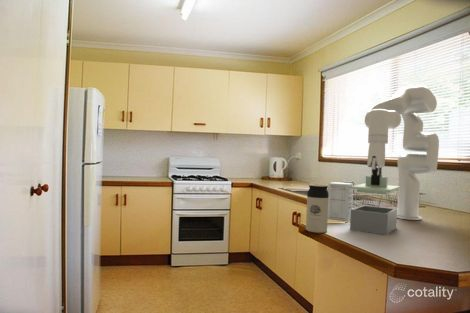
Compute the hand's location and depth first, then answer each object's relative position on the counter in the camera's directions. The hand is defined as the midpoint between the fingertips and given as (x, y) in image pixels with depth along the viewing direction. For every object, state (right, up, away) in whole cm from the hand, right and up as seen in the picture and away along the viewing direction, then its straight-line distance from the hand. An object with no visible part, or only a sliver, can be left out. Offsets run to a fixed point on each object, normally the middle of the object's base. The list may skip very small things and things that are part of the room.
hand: (376, 184), depth 154 cm
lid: (0, -3, 0) cm, 3 cm away
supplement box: (-9, -18, +20) cm, 28 cm away
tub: (-1, -18, 0) cm, 18 cm away
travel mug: (-27, -17, -9) cm, 33 cm away
